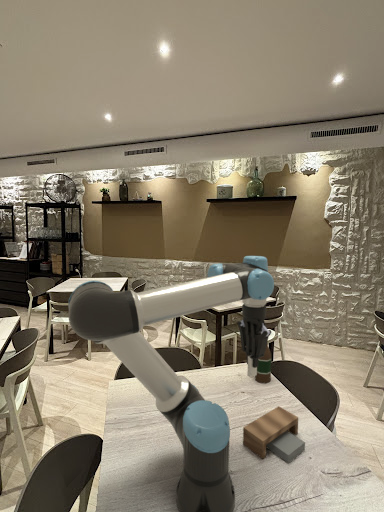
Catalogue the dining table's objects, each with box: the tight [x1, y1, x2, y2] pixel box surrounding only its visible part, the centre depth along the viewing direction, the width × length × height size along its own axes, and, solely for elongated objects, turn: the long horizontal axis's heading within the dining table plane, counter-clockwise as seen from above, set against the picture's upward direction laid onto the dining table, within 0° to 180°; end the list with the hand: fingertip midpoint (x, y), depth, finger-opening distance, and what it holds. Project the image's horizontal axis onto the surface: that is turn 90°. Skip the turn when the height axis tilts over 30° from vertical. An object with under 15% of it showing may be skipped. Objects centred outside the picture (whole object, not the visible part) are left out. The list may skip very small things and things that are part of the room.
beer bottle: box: [254, 342, 272, 384], centre depth 136 cm, size 8×8×24 cm
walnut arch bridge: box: [242, 406, 299, 460], centre depth 97 cm, size 19×8×6 cm, turn 128°
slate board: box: [266, 431, 306, 464], centre depth 94 cm, size 9×11×3 cm
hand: (252, 375), depth 95 cm, fingers closed
